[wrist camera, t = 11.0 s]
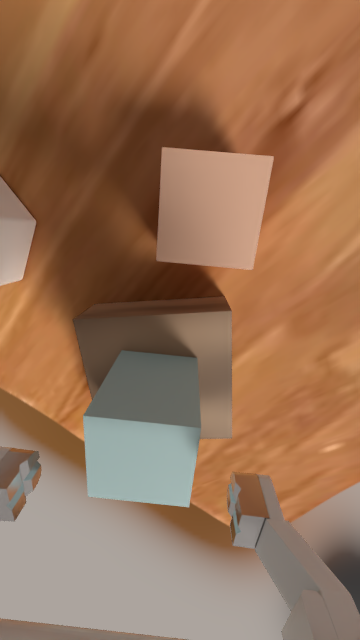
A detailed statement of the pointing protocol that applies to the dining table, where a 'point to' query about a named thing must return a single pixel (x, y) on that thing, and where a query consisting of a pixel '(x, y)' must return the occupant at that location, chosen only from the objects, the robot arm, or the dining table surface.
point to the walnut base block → (166, 346)
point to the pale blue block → (144, 430)
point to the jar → (13, 235)
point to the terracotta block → (211, 207)
